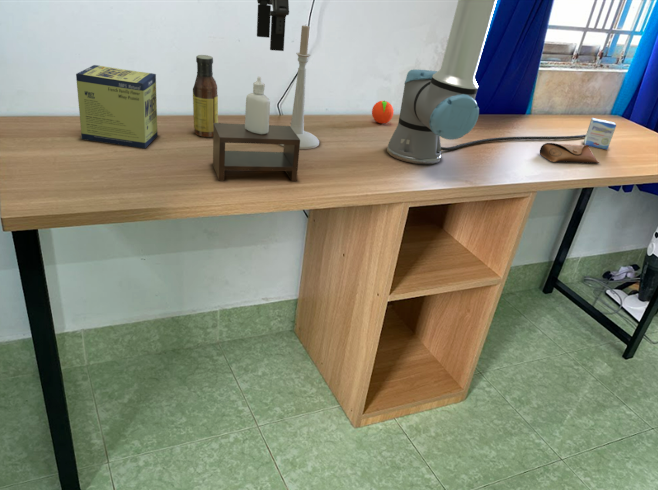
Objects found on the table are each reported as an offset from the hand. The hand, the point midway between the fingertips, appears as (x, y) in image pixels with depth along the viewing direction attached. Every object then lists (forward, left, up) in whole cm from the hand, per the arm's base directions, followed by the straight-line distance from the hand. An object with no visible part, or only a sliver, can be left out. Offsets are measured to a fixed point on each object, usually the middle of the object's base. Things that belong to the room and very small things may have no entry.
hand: (269, 43), depth 132 cm
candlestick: (-14, -22, -29) cm, 39 cm away
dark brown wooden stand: (+2, +2, -29) cm, 29 cm away
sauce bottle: (+10, -25, -29) cm, 40 cm away
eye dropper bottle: (+2, +2, -19) cm, 19 cm away
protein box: (+31, -20, -29) cm, 47 cm away
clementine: (-47, -42, -29) cm, 70 cm away
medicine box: (-121, -27, -29) cm, 127 cm away
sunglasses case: (-100, -13, -29) cm, 105 cm away
